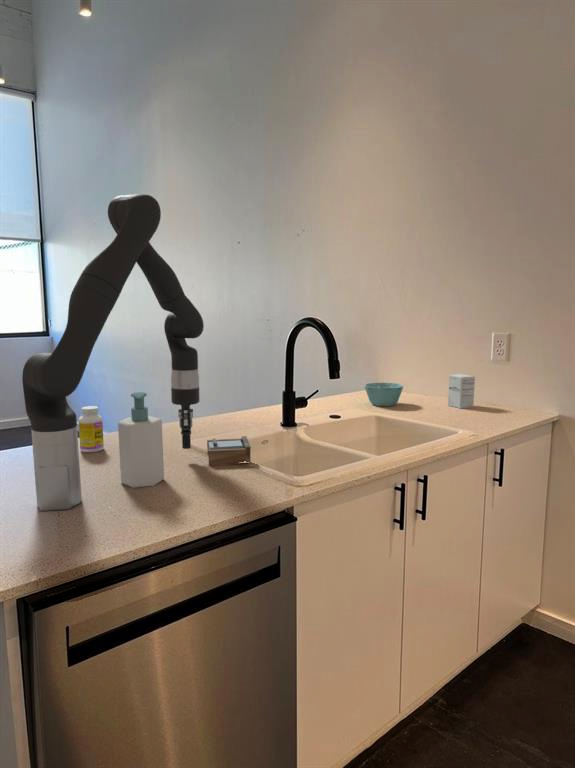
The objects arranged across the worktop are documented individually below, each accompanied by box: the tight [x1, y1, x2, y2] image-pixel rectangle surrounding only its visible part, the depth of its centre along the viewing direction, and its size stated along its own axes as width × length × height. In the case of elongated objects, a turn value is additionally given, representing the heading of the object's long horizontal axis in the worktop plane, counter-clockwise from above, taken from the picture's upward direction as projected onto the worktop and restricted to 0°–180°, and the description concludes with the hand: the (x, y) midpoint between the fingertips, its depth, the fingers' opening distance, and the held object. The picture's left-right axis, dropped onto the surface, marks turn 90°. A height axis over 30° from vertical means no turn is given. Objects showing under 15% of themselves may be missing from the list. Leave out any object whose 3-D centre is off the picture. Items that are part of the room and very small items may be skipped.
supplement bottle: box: [78, 405, 105, 454], centre depth 169 cm, size 7×7×13 cm
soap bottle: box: [117, 391, 165, 489], centre depth 140 cm, size 10×9×22 cm
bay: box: [206, 435, 252, 467], centre depth 161 cm, size 12×11×5 cm
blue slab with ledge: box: [209, 438, 243, 450], centre depth 161 cm, size 6×9×6 cm, turn 101°
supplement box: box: [447, 373, 476, 409], centre depth 231 cm, size 7×7×13 cm
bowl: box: [363, 381, 404, 407], centre depth 236 cm, size 16×16×8 cm
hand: (186, 447), depth 159 cm, fingers closed
